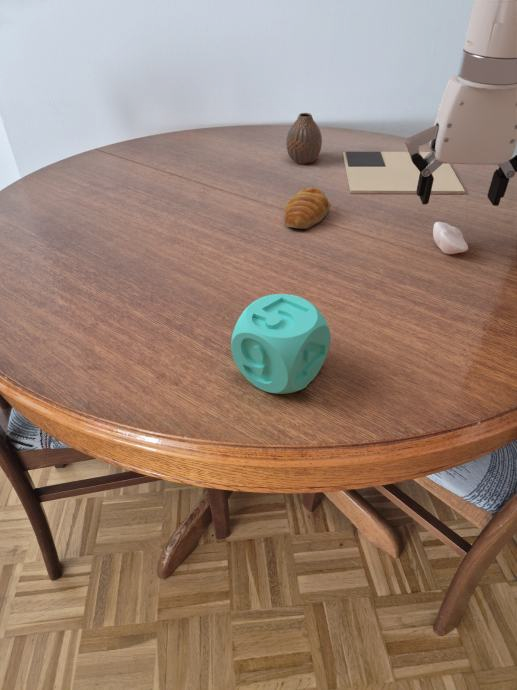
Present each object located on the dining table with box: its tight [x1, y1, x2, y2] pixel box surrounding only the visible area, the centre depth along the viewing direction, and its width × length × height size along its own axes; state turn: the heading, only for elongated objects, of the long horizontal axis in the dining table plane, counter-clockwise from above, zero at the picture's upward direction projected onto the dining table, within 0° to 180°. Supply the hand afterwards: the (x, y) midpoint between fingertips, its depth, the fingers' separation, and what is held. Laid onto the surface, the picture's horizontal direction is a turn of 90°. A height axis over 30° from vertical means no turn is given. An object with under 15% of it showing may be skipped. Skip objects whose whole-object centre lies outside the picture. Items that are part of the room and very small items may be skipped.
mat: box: [342, 151, 466, 195], centre depth 103 cm, size 20×18×1 cm
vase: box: [285, 112, 323, 165], centre depth 105 cm, size 7×7×9 cm
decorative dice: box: [230, 293, 332, 395], centre depth 60 cm, size 8×8×8 cm
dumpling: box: [432, 221, 469, 255], centre depth 81 cm, size 7×5×4 cm
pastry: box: [284, 187, 332, 230], centre depth 88 cm, size 9×7×4 cm
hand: (457, 200), depth 76 cm, fingers open, 9 cm apart
